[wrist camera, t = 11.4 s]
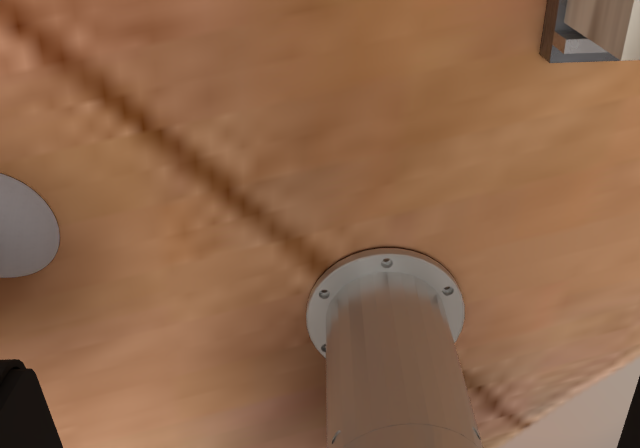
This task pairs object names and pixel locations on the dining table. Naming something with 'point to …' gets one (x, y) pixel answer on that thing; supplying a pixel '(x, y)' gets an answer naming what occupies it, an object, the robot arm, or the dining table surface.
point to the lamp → (25, 230)
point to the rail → (567, 39)
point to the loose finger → (608, 24)
